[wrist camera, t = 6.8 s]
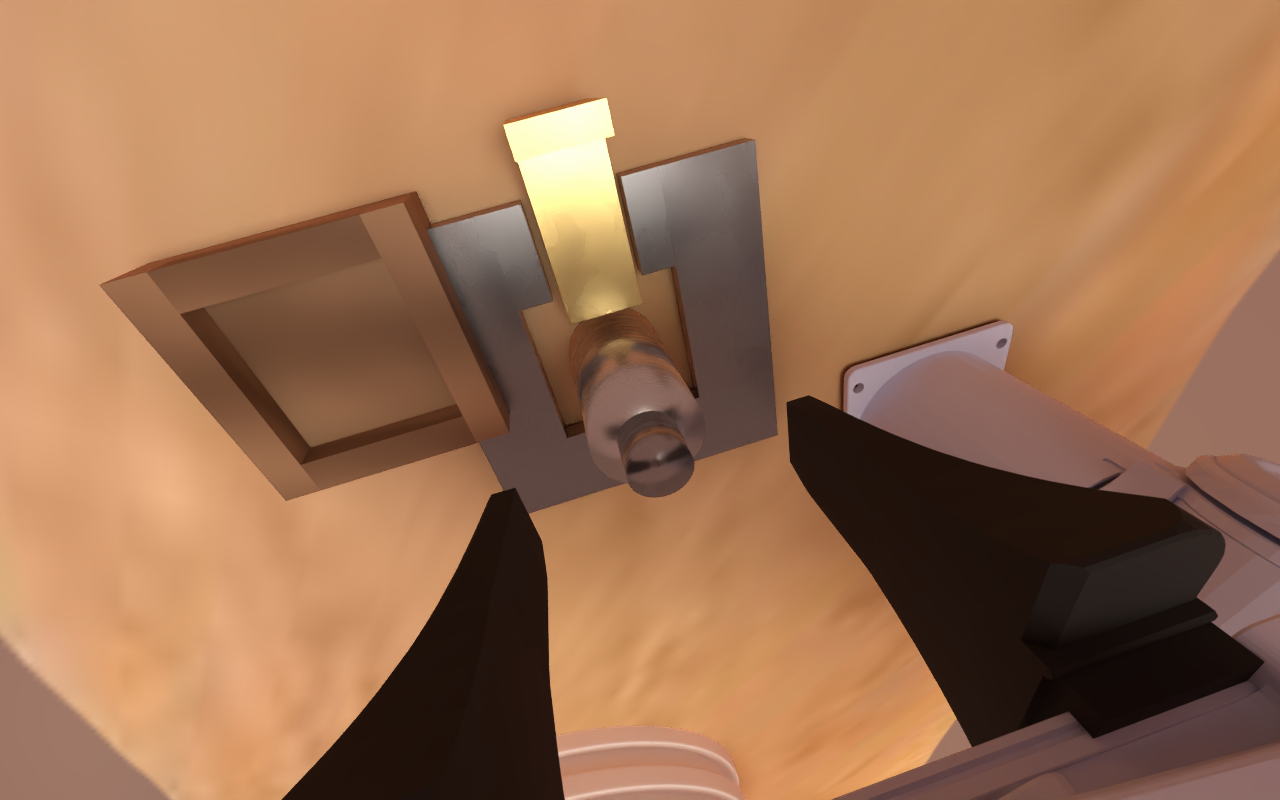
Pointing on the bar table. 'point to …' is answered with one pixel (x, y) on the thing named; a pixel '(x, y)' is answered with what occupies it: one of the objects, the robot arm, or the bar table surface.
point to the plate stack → (645, 765)
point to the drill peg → (635, 404)
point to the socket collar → (662, 237)
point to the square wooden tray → (322, 344)
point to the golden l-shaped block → (577, 205)
